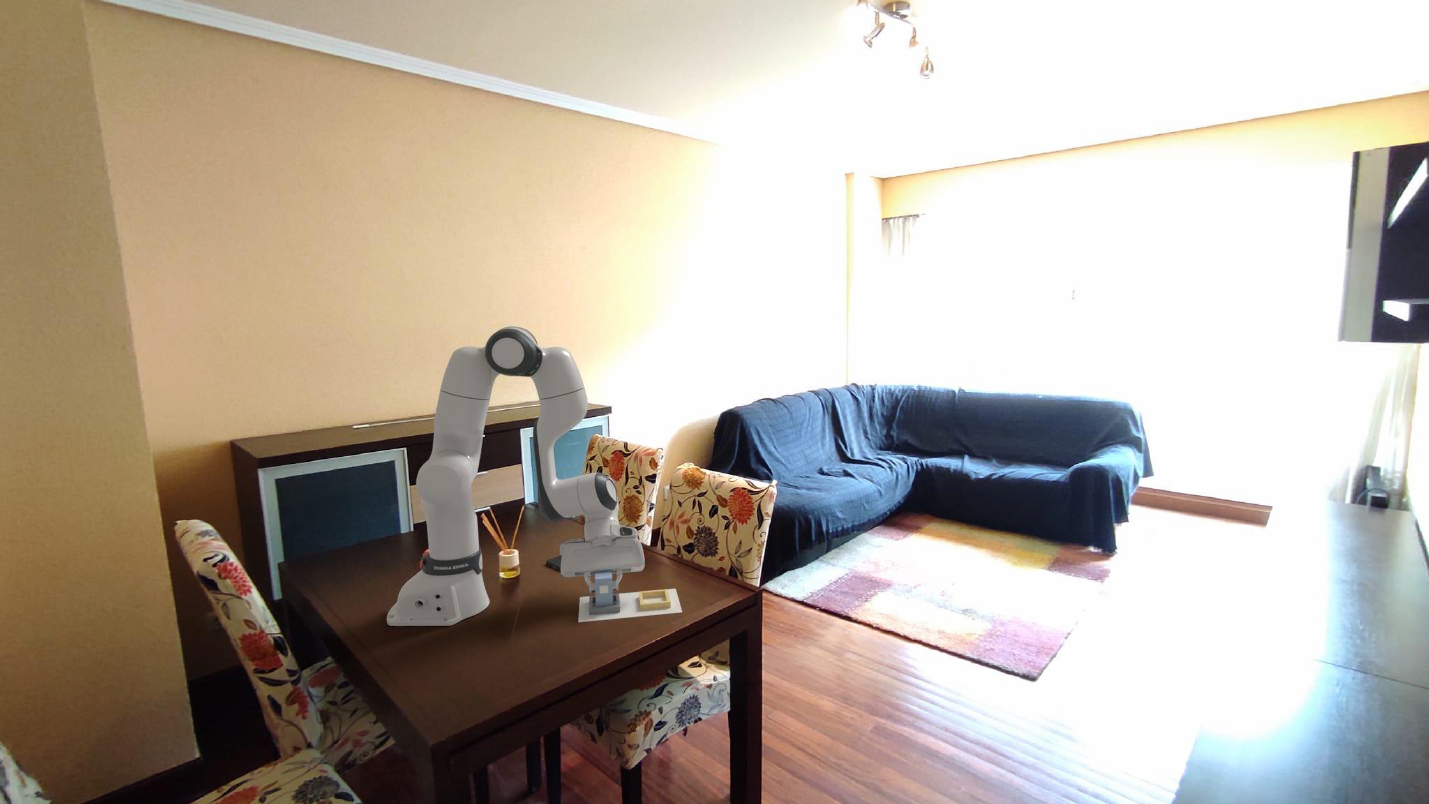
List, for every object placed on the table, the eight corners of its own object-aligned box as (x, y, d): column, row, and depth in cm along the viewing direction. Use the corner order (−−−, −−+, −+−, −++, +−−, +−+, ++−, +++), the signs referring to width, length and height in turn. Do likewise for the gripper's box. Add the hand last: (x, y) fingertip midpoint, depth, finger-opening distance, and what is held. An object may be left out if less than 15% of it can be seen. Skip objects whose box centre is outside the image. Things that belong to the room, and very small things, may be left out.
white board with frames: (578, 624, 142) (578, 616, 141) (580, 599, 154) (579, 591, 154) (682, 614, 146) (682, 606, 146) (675, 590, 159) (675, 583, 158)
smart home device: (544, 560, 177) (600, 540, 191) (545, 565, 177) (601, 546, 192) (561, 567, 171) (618, 547, 186) (562, 573, 171) (618, 552, 186)
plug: (596, 612, 146) (594, 580, 145) (596, 603, 151) (595, 572, 150) (613, 610, 147) (612, 578, 146) (612, 602, 151) (611, 571, 150)
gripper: (559, 534, 152) (558, 589, 143) (642, 528, 155) (646, 582, 147) (560, 545, 157) (560, 599, 148) (642, 539, 160) (645, 591, 152)
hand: (603, 590), depth 148 cm, fingers closed on plug, 4 cm apart
